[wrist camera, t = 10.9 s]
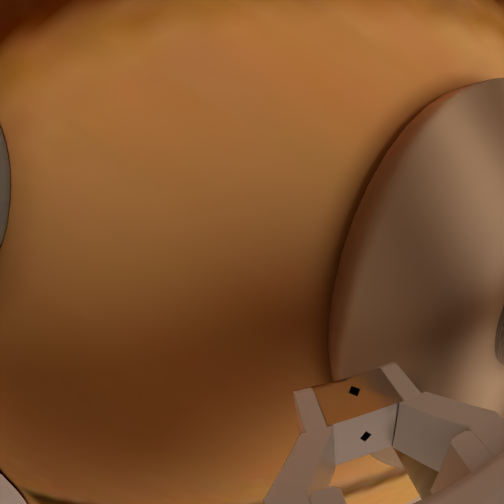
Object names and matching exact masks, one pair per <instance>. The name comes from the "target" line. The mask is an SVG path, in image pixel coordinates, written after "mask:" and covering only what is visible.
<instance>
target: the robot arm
mask: <svg viewBox="0 0 504 504" xmlns="http://www.w3.org/2000/svg"><path fill="white" fill-rule="evenodd" d="M293 397H294V403H295V409H296V415H297V421H298V425H299V430H300V435H299V437H298V439H297V441H296V443H295V444H294V446H293V448H292V450H291V452H290V454H289V456H288V458H287V460H286V461H285V463H284V465H283V467H282V469H281V471H280V472H279V474H278V476H277V478H276V479H275V481H274V483H273V485H272V486H271V488H270V490H269V491H268V493H267V495H266V496H265V498H264V504H346V502H345V500H344V497H343V494H342V492H341V489H340V488H337V487H333V486H331V487H329V484H330V482H331V479H332V476H333V473H334V470H335V467H336V465H338V464H341V463H344V462H347V461H350V460H353V459H356V458H358V457H361V456H364V455H367V454H370V453H373V452H376V451H379V450H382V449H385V448H388V447H391V446H392V447H393V448H395V449H397V450H398V451H400V452H402V453H404V454H406V455H407V456H409V457H411V458H413V459H415V460H417V461H418V462H420V463H422V464H424V465H426V466H428V467H430V468H432V469H434V470H436V471H438V472H439V473H438V475H437V477H436V479H435V481H434V484H433V486H432V488H431V490H430V491H431V493H432V495H430V496H428V497H426V498H424V499H422V500H420V501H418V502H416V503H414V504H504V420H503V419H502V418H501V417H500V415H499V414H498V413H497V412H496V411H492V410H489V409H485V408H481V407H477V406H473V405H470V404H466V403H463V402H459V401H456V400H452V399H449V398H445V397H442V396H438V395H435V394H432V393H429V392H424V393H421V392H420V391H419V390H418V389H417V387H416V386H415V385H414V384H413V383H412V381H411V380H410V379H409V378H408V377H407V375H406V374H405V373H404V372H403V371H402V369H401V368H400V367H399V366H398V365H397V363H395V362H391V363H389V364H386V365H383V366H380V367H378V368H376V369H373V370H370V371H367V372H364V373H360V374H357V375H354V376H351V377H348V378H344V379H341V380H337V381H333V382H329V383H325V384H321V385H317V386H313V387H310V388H305V389H301V390H296V391H293ZM0 504H27V503H26V502H25V500H24V499H23V497H22V496H21V495H20V494H19V492H18V491H17V490H16V489H15V488H14V487H13V486H12V485H11V484H10V483H9V482H8V481H7V480H6V479H5V478H4V477H3V476H2V475H1V474H0Z"/></svg>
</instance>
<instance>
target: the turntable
mask: <svg viewBox="0 0 504 504" xmlns="http://www.w3.org/2000/svg"><path fill="white" fill-rule="evenodd" d="M503 306H504V78H497V79H492V80H487V81H483V82H479V83H475V84H471V85H467V86H463V87H461V88H458V89H456V90H453V91H451V92H448V93H446V94H444V95H442V96H441V97H440V98H438V99H437V100H435V101H434V102H432V103H431V104H429V105H428V106H426V107H425V108H424V109H423V110H422V111H421V112H420V113H419V114H418V115H417V116H416V117H415V118H414V119H413V120H412V121H411V122H410V123H409V124H408V125H407V126H406V127H405V128H404V130H403V131H402V132H401V134H400V135H399V136H398V138H397V139H396V140H395V142H394V143H393V144H392V146H391V147H390V148H389V150H388V151H387V152H386V154H385V156H384V158H383V160H382V161H381V163H380V165H379V166H378V168H377V170H376V172H375V173H374V175H373V177H372V179H371V180H370V182H369V184H368V186H367V189H366V191H365V193H364V195H363V198H362V200H361V202H360V204H359V207H358V209H357V211H356V213H355V215H354V218H353V221H352V224H351V227H350V230H349V233H348V236H347V239H346V242H345V245H344V248H343V251H342V253H341V257H340V262H339V266H338V271H337V275H336V279H335V283H334V287H333V292H332V301H331V309H330V317H329V324H328V355H329V362H330V370H331V377H332V381H337V380H341V379H344V378H348V377H351V376H354V375H357V374H360V373H364V372H367V371H370V370H373V369H376V368H378V367H380V366H383V365H386V364H389V363H391V362H395V363H397V365H398V366H399V367H400V368H401V369H402V371H403V372H404V373H405V374H406V375H407V377H408V378H409V379H410V380H411V381H412V383H413V384H414V385H415V386H416V387H417V389H418V390H419V391H420V392H421V393H424V392H429V393H432V394H435V395H438V396H442V397H445V398H449V399H452V400H456V401H459V402H463V403H466V404H470V405H473V406H477V407H481V408H485V409H489V410H492V411H496V412H497V413H498V414H499V415H500V417H501V418H502V419H503V420H504V366H503V365H502V364H501V363H499V361H498V360H497V358H496V354H495V336H496V330H497V326H498V322H499V318H500V315H501V312H502V309H503ZM370 455H371V456H373V457H374V458H376V459H378V460H379V461H381V462H383V463H385V464H388V465H391V466H395V467H398V468H405V470H406V472H407V473H408V475H409V477H410V479H411V481H412V482H413V484H414V486H415V488H416V490H417V491H418V493H419V495H420V497H421V499H424V498H426V497H428V496H430V495H432V493H431V491H430V490H431V488H432V486H433V484H434V481H435V479H436V477H437V475H438V473H439V472H438V471H436V470H434V469H432V468H430V467H428V466H426V465H424V464H422V463H420V462H418V461H417V460H415V459H413V458H411V457H409V456H407V455H406V454H404V453H402V452H400V451H398V450H397V449H395V448H393V447H392V446H391V447H388V448H385V449H382V450H379V451H376V452H373V453H370Z"/></svg>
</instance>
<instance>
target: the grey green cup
mask: <svg viewBox="0 0 504 504" xmlns="http://www.w3.org/2000/svg"><path fill="white" fill-rule="evenodd" d="M9 203H10V166H9V158H8V152H7V147H6V143H5V140H4V137H3V133H2V130H1V128H0V246H1V243H2V240H3V238H4V234H5V230H6V226H7V220H8V213H9Z"/></svg>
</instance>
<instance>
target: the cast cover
mask: <svg viewBox="0 0 504 504" xmlns="http://www.w3.org/2000/svg"><path fill="white" fill-rule="evenodd" d="M495 354H496V358H497V360H498V361H499V363H501V364H502V365H503V366H504V306H503V309H502V312H501V315H500V318H499V322H498V326H497V330H496V336H495Z"/></svg>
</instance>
